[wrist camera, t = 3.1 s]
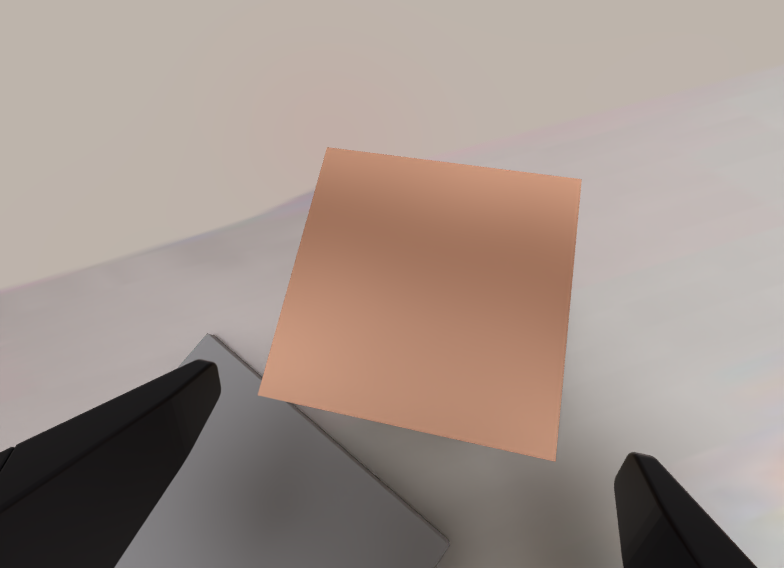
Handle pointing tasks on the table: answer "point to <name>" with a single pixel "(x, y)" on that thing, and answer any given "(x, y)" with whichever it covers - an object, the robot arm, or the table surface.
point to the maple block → (431, 300)
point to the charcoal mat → (275, 494)
